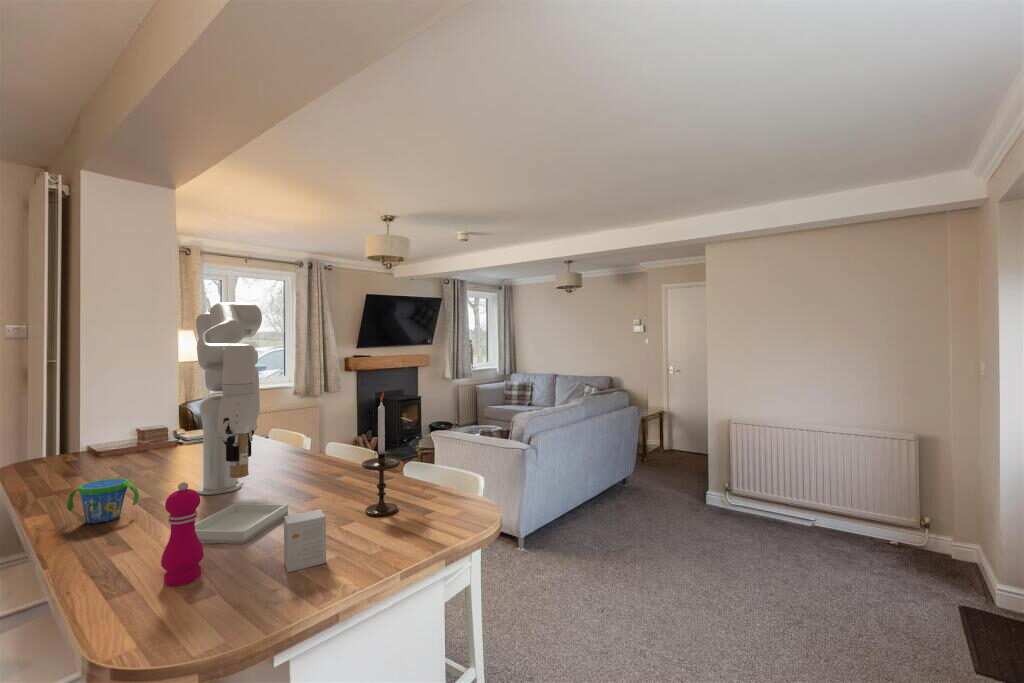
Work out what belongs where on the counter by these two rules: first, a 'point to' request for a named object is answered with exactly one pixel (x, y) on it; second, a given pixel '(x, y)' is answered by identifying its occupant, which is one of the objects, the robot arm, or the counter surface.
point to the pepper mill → (182, 538)
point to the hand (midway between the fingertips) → (238, 458)
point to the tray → (239, 522)
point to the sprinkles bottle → (241, 457)
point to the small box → (304, 540)
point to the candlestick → (381, 469)
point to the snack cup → (102, 499)
